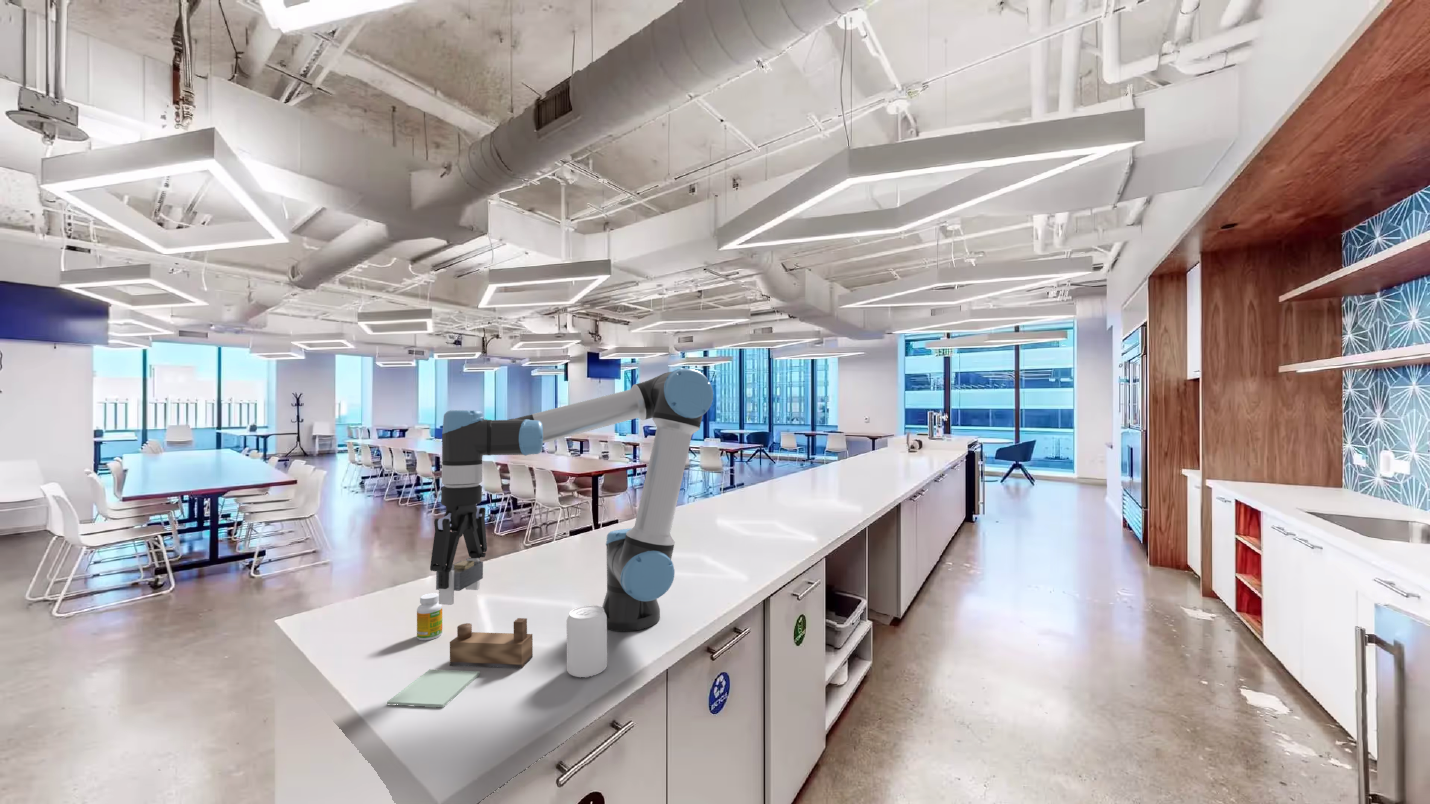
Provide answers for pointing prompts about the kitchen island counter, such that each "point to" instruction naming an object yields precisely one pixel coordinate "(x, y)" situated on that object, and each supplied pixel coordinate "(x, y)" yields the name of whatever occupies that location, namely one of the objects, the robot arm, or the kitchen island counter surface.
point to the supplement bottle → (429, 617)
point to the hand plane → (492, 647)
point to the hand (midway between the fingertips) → (459, 596)
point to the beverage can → (586, 641)
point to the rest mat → (434, 688)
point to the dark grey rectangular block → (465, 574)
